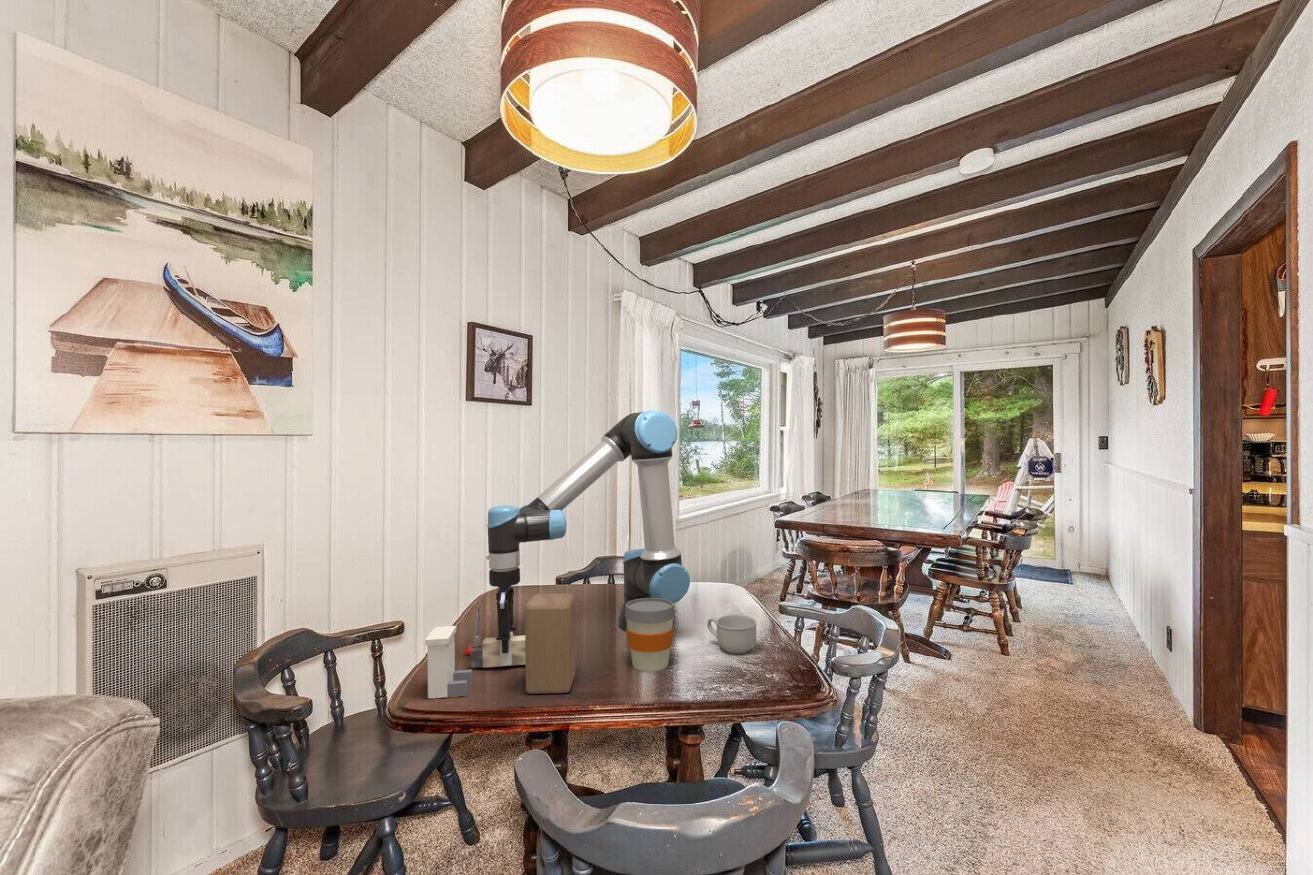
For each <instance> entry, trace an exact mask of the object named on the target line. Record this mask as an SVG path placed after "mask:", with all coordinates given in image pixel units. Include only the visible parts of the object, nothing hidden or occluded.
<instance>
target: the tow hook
mask: <svg viewBox="0 0 1313 875" xmlns="http://www.w3.org/2000/svg"><path fill="white" fill-rule="evenodd" d="M475 610H476V612H475V623H474V624H475V625H474V627H475V629H474V640H473V642H474V644H471V645H470V646H468V649H465V650H464V652H463V654H464V656H468V655H470V651H471V649H472V648H477V647H482V643H483V642H481V631H480V630H481V614H480V606H479V605H477V606H476V609H475Z"/></svg>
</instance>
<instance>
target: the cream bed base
mask: <svg viewBox="0 0 1313 875" xmlns="http://www.w3.org/2000/svg"><path fill="white" fill-rule="evenodd" d="M457 627H458V626H457V625H446V626H435V627H434V628H433V629H432V631H431V632H430V633H429V635H428V636H427V637H426V638H425V640H424V646H427V699H428V698H436V697H437V698H441V697H453V696H466V695H467V696H468V694H467V693H468V692H469V691H468V688H469V687H468V686H470V685H469V684H472V685H473V669H460V670H459V669H458V670H456V669H455V668H456V667H455V666H456V661H455V660H456V659H455V658H456V656H455V655H456V654H455V650H456V649H455V647H456V645H455V642H456V641H455V634H456V632H457ZM467 696H466V697H467Z"/></svg>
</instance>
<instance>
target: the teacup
mask: <svg viewBox="0 0 1313 875" xmlns="http://www.w3.org/2000/svg"><path fill="white" fill-rule="evenodd" d="M712 622H714V623H715V625H716V630H715V629H714V628H713V626H712ZM757 623H758V622H757V619H755V618H754V617H753V616H750V615H746V614H742V613H741V614H739V613H730V614H724V615H722V616H719V617H718V618H717V617H715V616H711V617H709V618H708V619H707V621H706V628H707V629H708V631H709V632H710V633H711V634H712V635H713V636H714V637H716V639H717V643H718V645H719V647H721V649H723V651H725V652H727V653H730V654H734V655H742V654H746V653H748V652H749V651H750V650H751V649H753V648H754V647H755V645H756V643H757V625H758V624H757Z"/></svg>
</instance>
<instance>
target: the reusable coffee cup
mask: <svg viewBox="0 0 1313 875" xmlns="http://www.w3.org/2000/svg"><path fill="white" fill-rule="evenodd" d="M674 604H675V603H674ZM674 604H673V602H671V601H669V600H666V599H660V598H642V599H636V600H632V601H630V602H628V603H627V604H626V609H625V618H626V619H627V627H626V630H625V631H626V636H627V644H628V647H629V648H630V653H631V654H630V655H631V662H632V667H633V668H634V669H635V670H637V671H641V672H646V673H647V672H648V673H651V672H654V673H655V672H659V671H662V670H665V669H666V668H668V666H669V662H670V661H669V660H670V651H671V648H672V645H673V638H674V629H675V626H674V623H673V622H674V618H675V615H676V612H675V605H674Z"/></svg>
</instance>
